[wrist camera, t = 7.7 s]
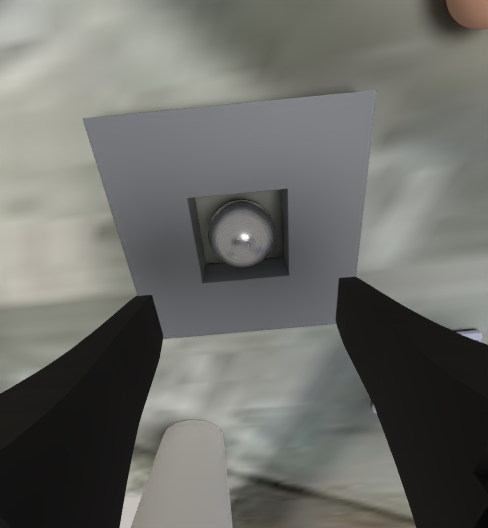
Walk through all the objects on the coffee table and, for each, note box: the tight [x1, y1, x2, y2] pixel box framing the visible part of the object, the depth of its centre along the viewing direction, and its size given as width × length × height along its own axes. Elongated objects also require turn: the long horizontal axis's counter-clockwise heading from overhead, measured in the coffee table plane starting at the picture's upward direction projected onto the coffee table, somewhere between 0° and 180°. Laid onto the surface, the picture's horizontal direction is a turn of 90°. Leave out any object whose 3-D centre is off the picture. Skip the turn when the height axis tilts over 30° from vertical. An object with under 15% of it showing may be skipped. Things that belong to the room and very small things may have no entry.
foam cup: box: [131, 420, 232, 528], centre depth 25 cm, size 10×9×13 cm
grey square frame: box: [83, 90, 377, 339], centre depth 18 cm, size 14×14×2 cm
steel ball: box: [208, 200, 275, 267], centre depth 18 cm, size 4×4×4 cm
